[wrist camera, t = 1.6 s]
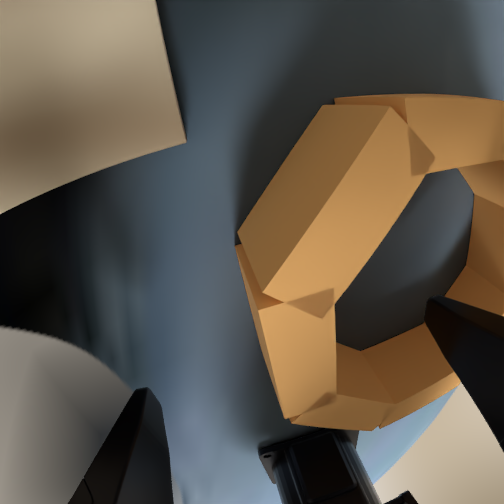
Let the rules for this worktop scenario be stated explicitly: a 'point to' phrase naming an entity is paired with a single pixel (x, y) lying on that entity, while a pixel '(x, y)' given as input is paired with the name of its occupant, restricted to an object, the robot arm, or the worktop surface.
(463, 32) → the worktop surface
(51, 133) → the hook stand
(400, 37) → the worktop surface
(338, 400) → the orange octagonal ring
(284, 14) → the worktop surface
